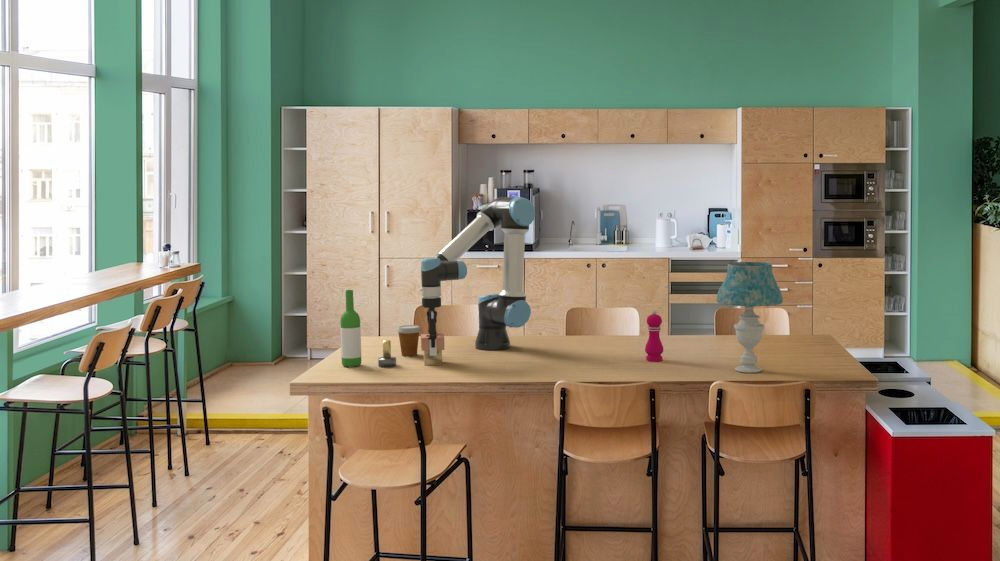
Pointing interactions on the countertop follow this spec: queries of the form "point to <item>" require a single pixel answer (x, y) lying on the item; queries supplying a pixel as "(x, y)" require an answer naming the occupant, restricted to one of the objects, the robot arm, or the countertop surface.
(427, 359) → the stand
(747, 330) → the table lamp
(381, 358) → the light bulb
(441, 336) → the square frame block
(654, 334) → the pepper mill
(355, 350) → the wine bottle
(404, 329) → the disposable coffee cup
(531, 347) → the countertop surface
